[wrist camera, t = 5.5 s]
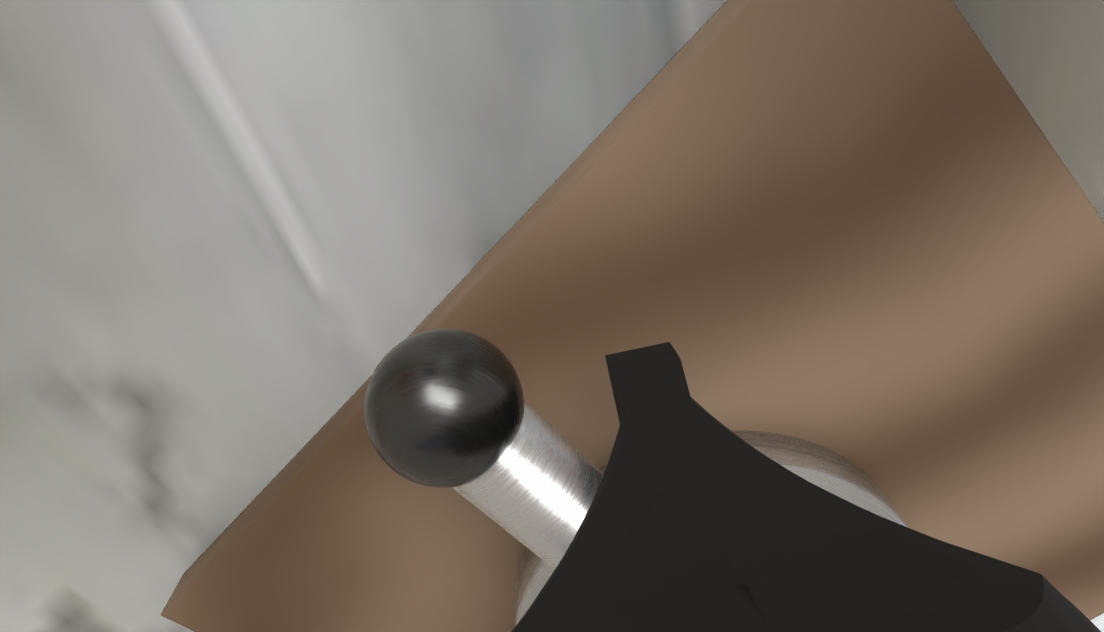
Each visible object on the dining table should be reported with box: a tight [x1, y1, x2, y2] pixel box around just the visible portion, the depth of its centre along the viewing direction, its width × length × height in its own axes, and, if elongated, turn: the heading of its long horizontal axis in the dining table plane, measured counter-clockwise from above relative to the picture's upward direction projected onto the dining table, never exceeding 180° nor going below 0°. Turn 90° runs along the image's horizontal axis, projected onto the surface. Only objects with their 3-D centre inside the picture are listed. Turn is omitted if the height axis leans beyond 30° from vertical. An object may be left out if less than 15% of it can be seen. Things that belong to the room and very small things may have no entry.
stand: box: [161, 0, 1104, 632], centre depth 16 cm, size 18×20×2 cm
